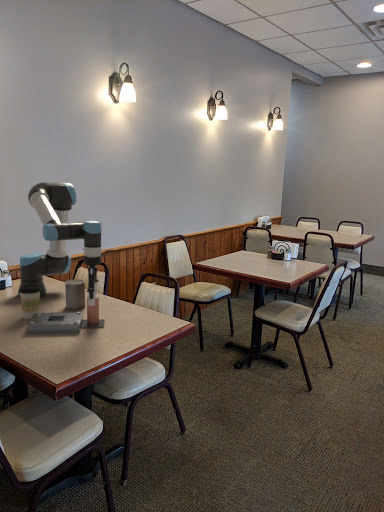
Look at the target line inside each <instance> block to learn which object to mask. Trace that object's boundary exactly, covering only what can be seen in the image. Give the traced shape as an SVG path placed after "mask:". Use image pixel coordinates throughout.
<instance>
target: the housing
mask: <svg viewBox="0 0 384 512" xmlns="http://www.w3.org/2000/svg"><path fill="white" fill-rule="evenodd" d="M83 320H84V312H83V311H82V312H81V311H76V312H39V311H38V312H37V313H34V315H33V316H32V318H31V319H29V321H28V322H27V323H26V333H27V335H30V334H73V333H74V334H75V333H76V334H77V333H81V330H82V328H81V326H82V322H83Z"/></svg>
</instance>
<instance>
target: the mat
mask: <svg viewBox="0 0 384 512" xmlns="http://www.w3.org/2000/svg"><path fill="white" fill-rule="evenodd" d="M104 328H105V319H104V318H103V319H101V318H99V324H97V325H88V324H87V319H83V322H82V326H81V329H104Z"/></svg>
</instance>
